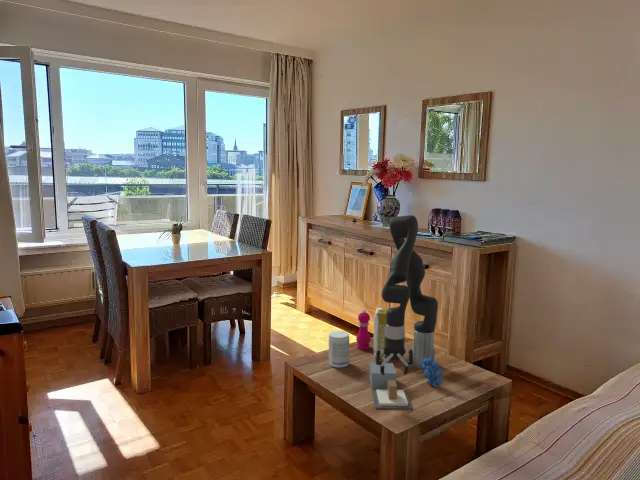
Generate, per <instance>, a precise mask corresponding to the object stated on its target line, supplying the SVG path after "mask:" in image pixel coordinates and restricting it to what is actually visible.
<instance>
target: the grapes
mask: <svg viewBox="0 0 640 480" xmlns="http://www.w3.org/2000/svg"><path fill="white" fill-rule="evenodd" d="M423 362H424V363H423V364H422V369H421V370H423V377H424V378H425V379H427V384H429V385H431V386H434V387H435V388H439V386H440V385H442V384H443V381H444V379H443V378H442V377H443V371H442V369H440V363H439V362H438V361H436V360H435V358H434V359H433V358H432V357H429V358H424V360H423Z"/></svg>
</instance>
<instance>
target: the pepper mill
mask: <svg viewBox="0 0 640 480" xmlns="http://www.w3.org/2000/svg"><path fill="white" fill-rule="evenodd" d="M370 319H371V316H370V314H369V313H367V310H366V309H363V310H362V312H360V313H359V314H358V315H357V320H358V321H359V322H358V325H359V331H358V333H357V335H356V339H355V340H356V342H357V343H356V348H357V350H360V349H361V351H366V350H369V349H370V342H371V340H372V339H371V336H370V333H369V325H370Z"/></svg>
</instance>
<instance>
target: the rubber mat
mask: <svg viewBox="0 0 640 480" xmlns="http://www.w3.org/2000/svg"><path fill="white" fill-rule="evenodd" d="M403 390H404V393H405V396H406V399H407V402H408V406H379V401H378V397H377V393H376V389H372V390H371V392H372V398H373V402H374V407H375V410H406V411H407V410H412V411H413V406H412V403H411V400H410V397H409V394H408V391H407V390H405V389H403Z"/></svg>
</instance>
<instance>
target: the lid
mask: <svg viewBox="0 0 640 480" xmlns="http://www.w3.org/2000/svg"><path fill="white" fill-rule="evenodd" d="M375 390H376V393H377V397H378V401H379V406H408V402H407V399H406V396H405V393H404V390H405V389H398V385H397V380H396V381H395V380H388V384H387V389H375Z"/></svg>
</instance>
